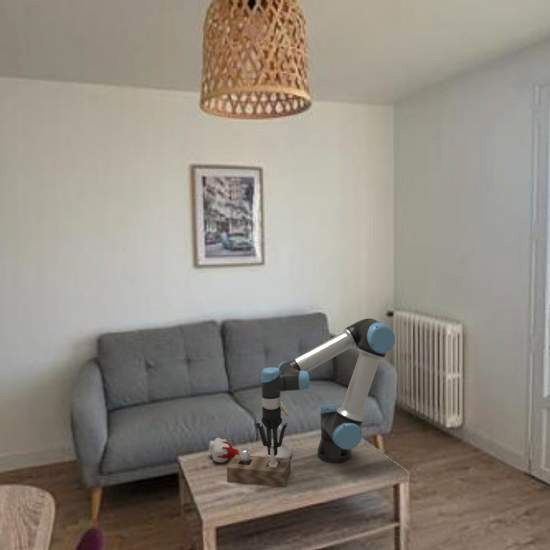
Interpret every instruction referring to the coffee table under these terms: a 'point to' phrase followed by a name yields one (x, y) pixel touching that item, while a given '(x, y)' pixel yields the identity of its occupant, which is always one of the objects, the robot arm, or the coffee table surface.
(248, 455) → the steel peg
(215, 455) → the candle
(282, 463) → the walnut block
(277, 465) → the steel peg
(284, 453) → the flower in vase
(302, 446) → the coffee table surface
